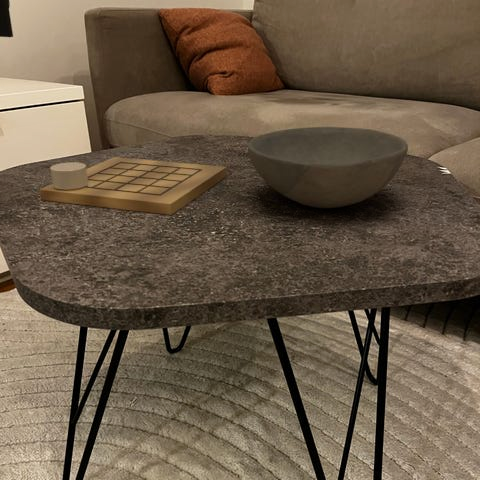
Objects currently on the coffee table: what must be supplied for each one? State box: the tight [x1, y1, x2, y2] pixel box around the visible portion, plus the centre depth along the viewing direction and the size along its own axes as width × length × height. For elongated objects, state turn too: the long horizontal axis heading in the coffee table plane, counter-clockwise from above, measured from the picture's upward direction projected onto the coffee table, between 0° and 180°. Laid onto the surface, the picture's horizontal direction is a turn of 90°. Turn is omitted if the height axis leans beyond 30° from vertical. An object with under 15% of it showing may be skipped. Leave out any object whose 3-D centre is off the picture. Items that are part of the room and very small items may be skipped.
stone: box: [49, 161, 88, 190], centre depth 82 cm, size 5×5×3 cm
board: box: [39, 156, 228, 216], centre depth 87 cm, size 20×20×2 cm
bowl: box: [246, 126, 409, 209], centre depth 80 cm, size 21×21×8 cm
